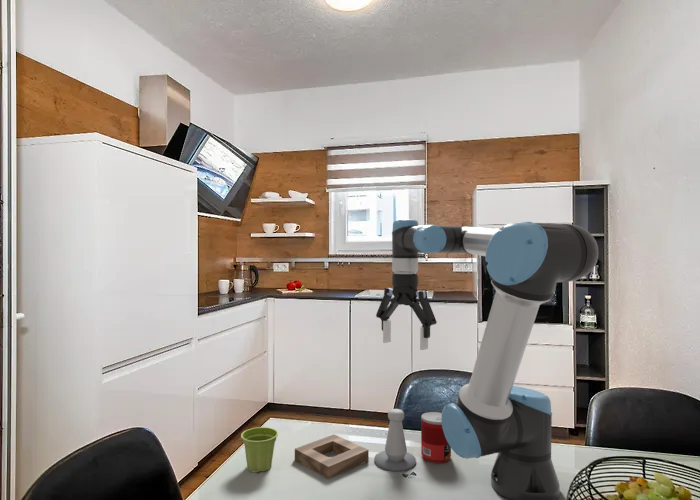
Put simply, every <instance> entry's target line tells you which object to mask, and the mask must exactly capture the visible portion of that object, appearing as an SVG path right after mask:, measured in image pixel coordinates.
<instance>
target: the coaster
mask: <svg viewBox="0 0 700 500" xmlns="http://www.w3.org/2000/svg"><path fill="white" fill-rule="evenodd" d="M373 458H374V464H375V465H376V466H377V467H379V468H380V469H382V470H385V471H389V472H405V471H409V470H411V469H413V468H414V467H415V466H416V464H417V461H416V460H417V458H416V457H415V456H414V455H413V454H412V453H410V452H407V453H406V455H405V457H404V460H403V461H402V462H398V463H396V462H391V461H390V460H389V459H388V457H387V454H386V452H385V450H383V451H380V452H378V453H377V454H375V456H374V457H373Z"/></svg>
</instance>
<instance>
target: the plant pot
mask: <svg viewBox="0 0 700 500" xmlns="http://www.w3.org/2000/svg"><path fill="white" fill-rule="evenodd" d="M278 435H279V431H278V430H277V429H275V428H273V427H266V426H258V427H257V426H256V427H252V428H249V429H246V430H244V431H243V432H242V433H241V434H240V438H241V440H242V442H243V445H244V451H245V458H246V459H245V460H246V468H247V470H248V471H249V472H253V473H259V472H266V471H268V470H270V469H271V468H272V463H273V456H274V449H275V444H276V441H277V437H278Z"/></svg>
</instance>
